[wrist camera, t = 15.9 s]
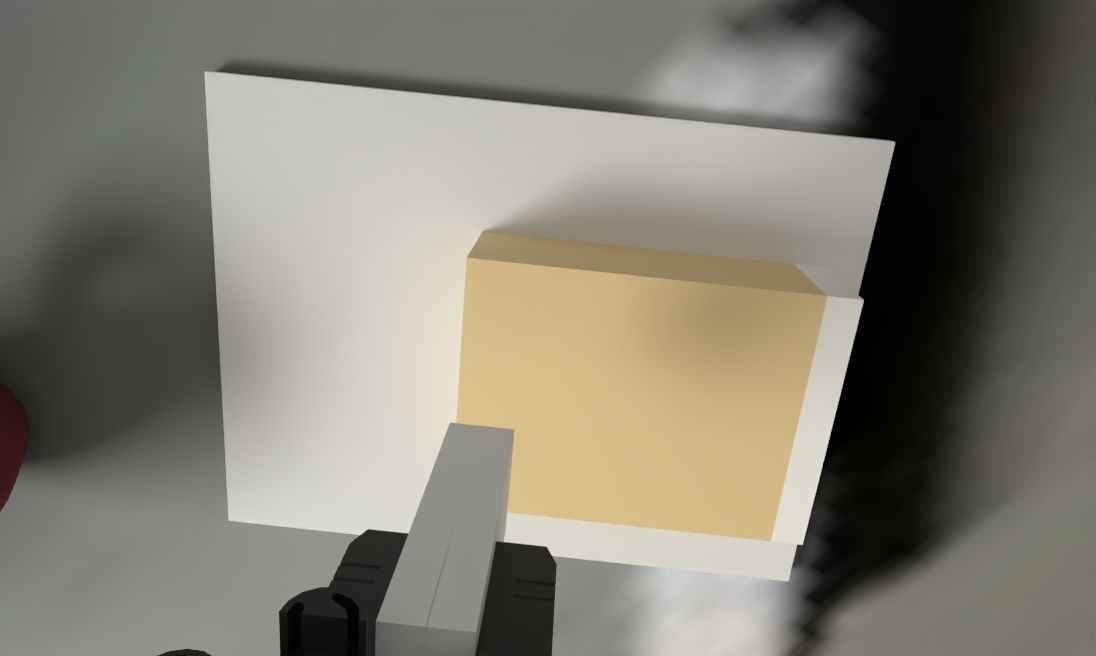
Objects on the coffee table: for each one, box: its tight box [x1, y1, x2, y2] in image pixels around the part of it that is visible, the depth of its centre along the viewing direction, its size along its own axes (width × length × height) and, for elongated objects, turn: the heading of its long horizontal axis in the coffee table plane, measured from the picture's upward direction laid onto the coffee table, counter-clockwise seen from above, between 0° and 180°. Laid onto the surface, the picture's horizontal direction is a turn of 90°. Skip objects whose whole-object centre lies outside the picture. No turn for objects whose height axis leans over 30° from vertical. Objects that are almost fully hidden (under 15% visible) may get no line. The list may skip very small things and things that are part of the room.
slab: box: [456, 231, 864, 545], centre depth 24 cm, size 4×8×11 cm
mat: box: [204, 71, 895, 581], centre depth 26 cm, size 21×16×1 cm
